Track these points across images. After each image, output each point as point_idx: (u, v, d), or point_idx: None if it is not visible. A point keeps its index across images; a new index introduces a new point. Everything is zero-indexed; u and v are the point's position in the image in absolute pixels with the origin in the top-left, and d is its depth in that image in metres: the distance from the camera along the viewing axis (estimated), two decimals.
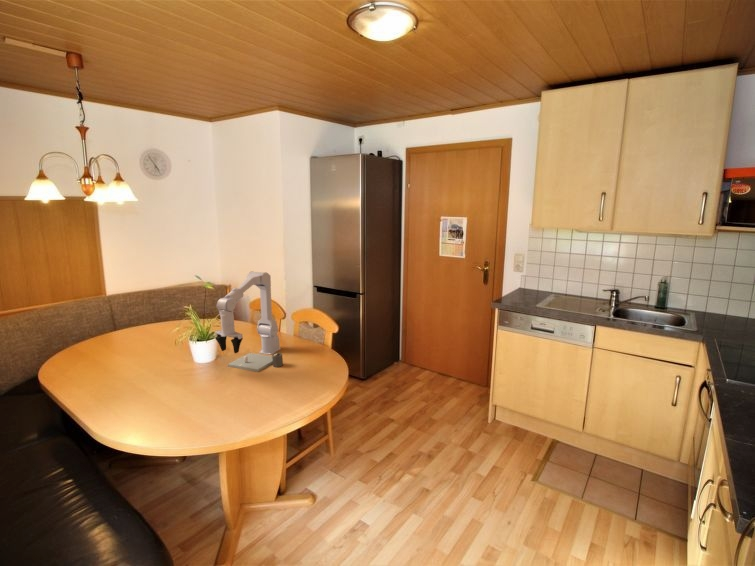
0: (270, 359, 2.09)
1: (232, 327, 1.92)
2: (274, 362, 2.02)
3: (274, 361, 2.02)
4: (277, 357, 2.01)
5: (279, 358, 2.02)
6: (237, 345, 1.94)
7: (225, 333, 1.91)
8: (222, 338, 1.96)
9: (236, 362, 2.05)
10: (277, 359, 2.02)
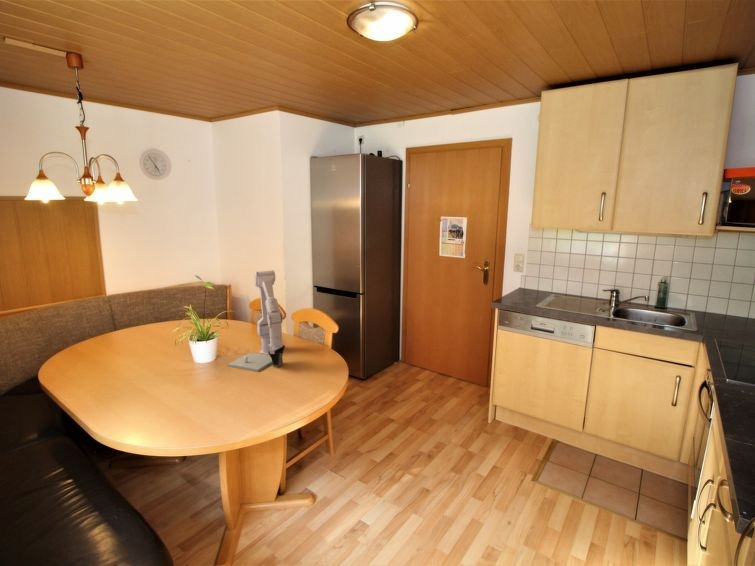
0: (270, 359, 2.09)
1: (273, 340, 1.99)
2: None
3: None
4: None
5: (279, 358, 2.02)
6: (275, 358, 2.00)
7: (270, 344, 2.02)
8: (278, 348, 2.06)
9: (236, 362, 2.05)
10: None
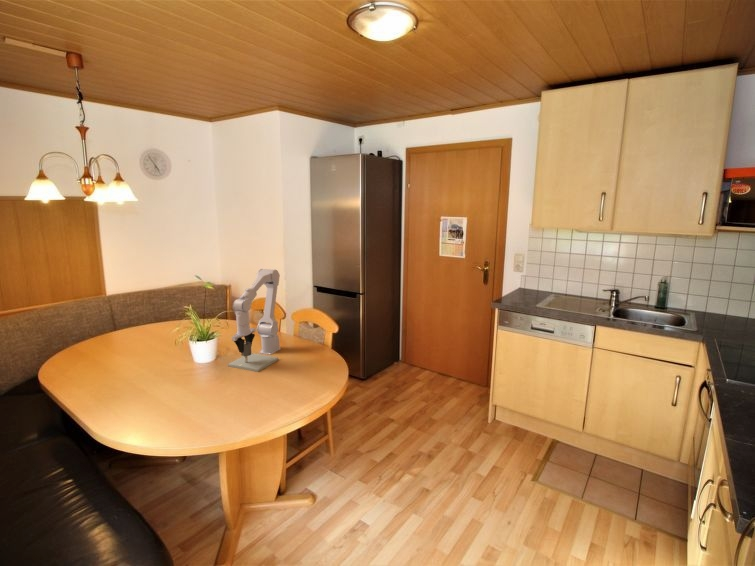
0: (270, 359, 2.09)
1: (238, 327, 1.99)
2: None
3: None
4: (245, 346, 2.01)
5: (247, 347, 2.02)
6: (240, 346, 2.01)
7: None
8: (247, 336, 2.06)
9: (236, 362, 2.05)
10: (245, 348, 2.01)
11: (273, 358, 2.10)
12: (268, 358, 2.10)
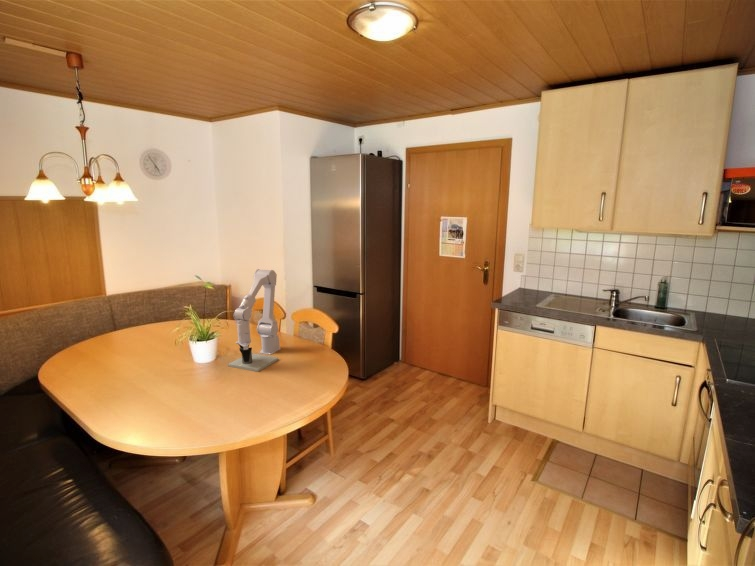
0: (270, 359, 2.09)
1: (244, 336, 2.00)
2: None
3: None
4: None
5: (251, 354, 2.04)
6: (247, 355, 2.01)
7: (238, 341, 2.02)
8: None
9: (236, 362, 2.05)
10: None
11: (273, 358, 2.10)
12: (268, 358, 2.10)
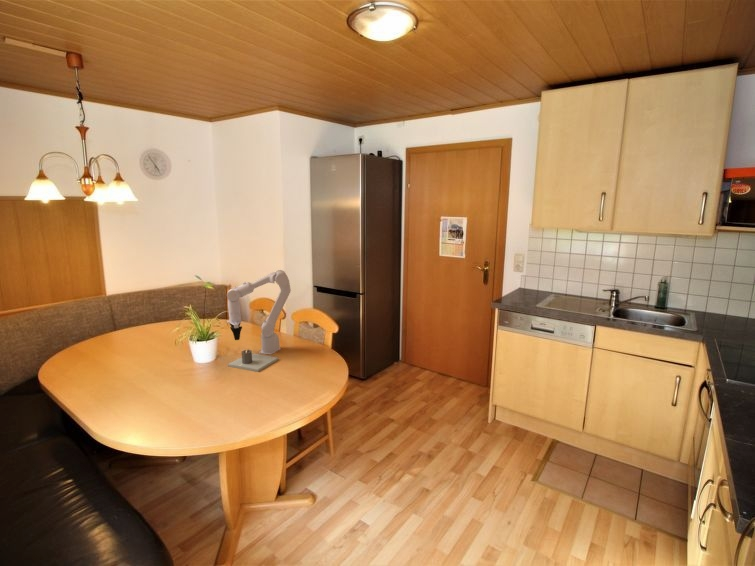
0: (270, 359, 2.09)
1: (234, 316, 2.12)
2: (246, 359, 2.03)
3: (246, 358, 2.03)
4: (249, 353, 2.03)
5: (251, 354, 2.04)
6: (237, 333, 2.13)
7: (229, 320, 2.13)
8: None
9: (236, 362, 2.05)
10: (249, 355, 2.04)
11: (273, 358, 2.10)
12: (268, 358, 2.10)
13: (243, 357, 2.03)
